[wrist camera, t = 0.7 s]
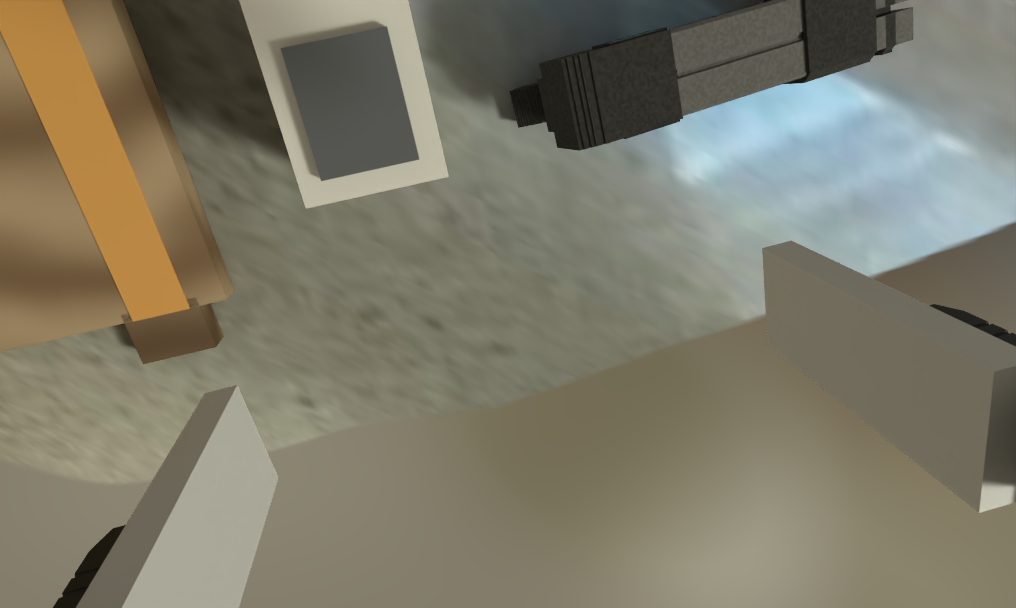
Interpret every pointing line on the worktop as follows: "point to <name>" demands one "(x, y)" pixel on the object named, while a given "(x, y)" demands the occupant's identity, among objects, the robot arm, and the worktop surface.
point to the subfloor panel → (96, 189)
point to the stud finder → (347, 94)
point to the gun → (703, 66)
